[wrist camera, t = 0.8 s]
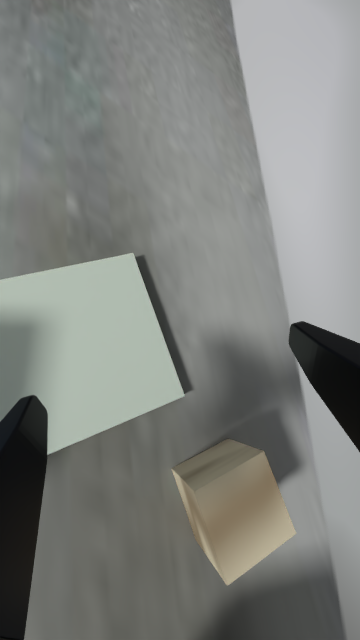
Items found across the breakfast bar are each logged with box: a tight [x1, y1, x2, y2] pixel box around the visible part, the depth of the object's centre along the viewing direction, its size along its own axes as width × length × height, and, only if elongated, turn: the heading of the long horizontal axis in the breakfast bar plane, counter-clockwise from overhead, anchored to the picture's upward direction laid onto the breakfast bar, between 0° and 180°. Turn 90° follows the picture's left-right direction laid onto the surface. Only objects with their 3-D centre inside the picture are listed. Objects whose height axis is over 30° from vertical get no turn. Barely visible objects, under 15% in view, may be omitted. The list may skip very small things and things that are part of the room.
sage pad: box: [0, 253, 185, 455], centre depth 19 cm, size 12×12×1 cm
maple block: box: [172, 439, 296, 586], centre depth 18 cm, size 5×5×5 cm
